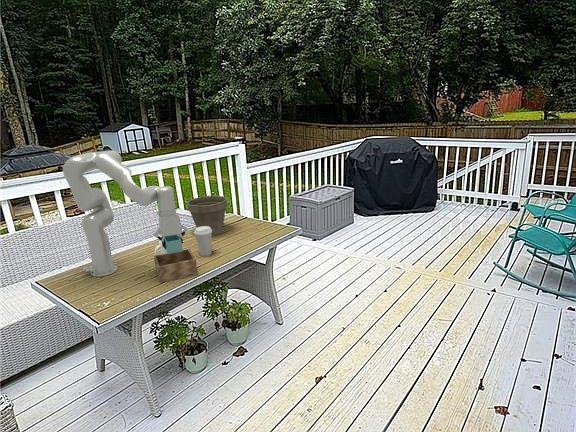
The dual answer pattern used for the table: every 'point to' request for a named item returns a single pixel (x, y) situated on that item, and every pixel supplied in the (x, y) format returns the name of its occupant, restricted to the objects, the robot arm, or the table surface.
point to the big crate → (175, 265)
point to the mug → (162, 249)
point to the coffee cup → (204, 240)
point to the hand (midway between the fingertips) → (173, 246)
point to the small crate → (173, 244)
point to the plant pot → (208, 212)
